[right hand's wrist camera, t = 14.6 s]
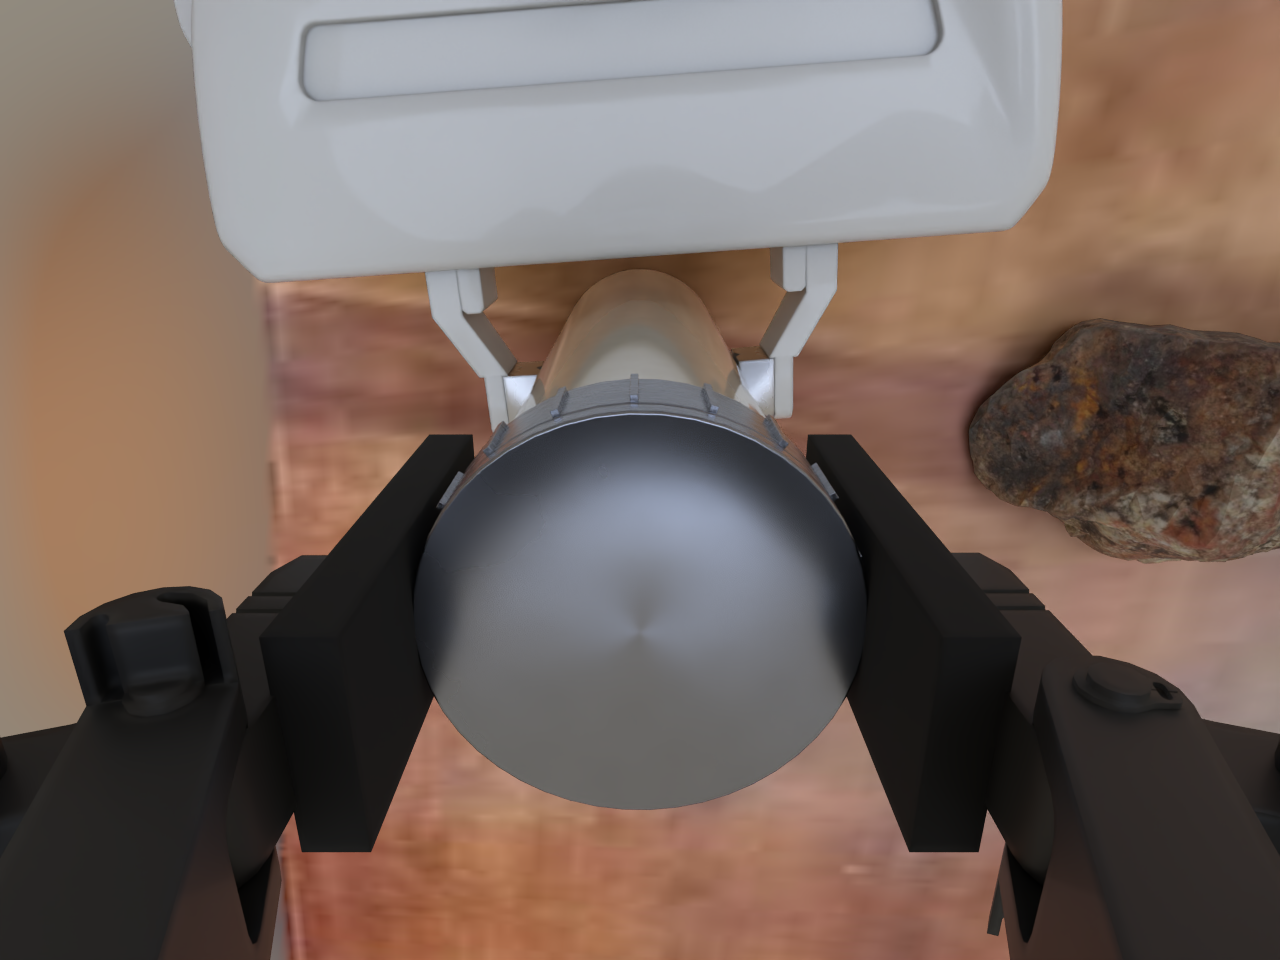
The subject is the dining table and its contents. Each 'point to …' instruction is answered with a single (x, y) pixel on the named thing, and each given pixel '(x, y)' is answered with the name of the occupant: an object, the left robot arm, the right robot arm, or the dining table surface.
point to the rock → (1143, 441)
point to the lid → (640, 597)
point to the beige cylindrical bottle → (640, 340)
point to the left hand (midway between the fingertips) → (643, 422)
